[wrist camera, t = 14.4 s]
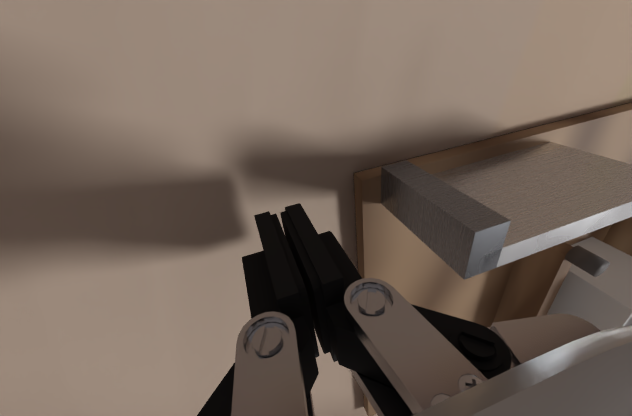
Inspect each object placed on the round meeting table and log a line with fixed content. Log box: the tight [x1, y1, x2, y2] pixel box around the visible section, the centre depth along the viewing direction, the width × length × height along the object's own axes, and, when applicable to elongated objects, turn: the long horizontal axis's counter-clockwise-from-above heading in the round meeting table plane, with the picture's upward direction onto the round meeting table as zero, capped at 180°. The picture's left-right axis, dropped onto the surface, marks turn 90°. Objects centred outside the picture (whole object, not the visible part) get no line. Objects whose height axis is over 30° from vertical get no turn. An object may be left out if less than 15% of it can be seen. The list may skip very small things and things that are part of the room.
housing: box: [354, 103, 632, 416], centre depth 19 cm, size 24×22×5 cm
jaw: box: [547, 237, 632, 331], centre depth 20 cm, size 4×7×6 cm, turn 7°
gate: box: [381, 142, 632, 280], centre depth 11 cm, size 10×2×5 cm, turn 97°
